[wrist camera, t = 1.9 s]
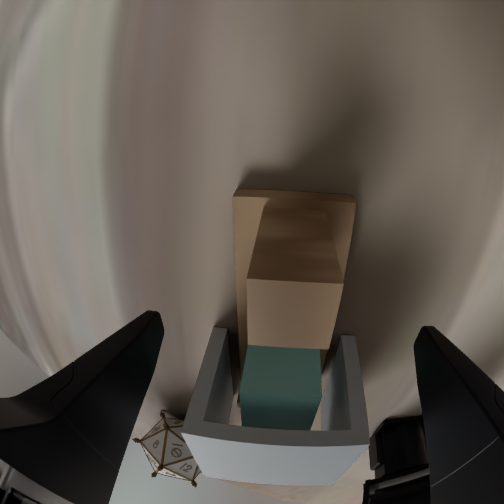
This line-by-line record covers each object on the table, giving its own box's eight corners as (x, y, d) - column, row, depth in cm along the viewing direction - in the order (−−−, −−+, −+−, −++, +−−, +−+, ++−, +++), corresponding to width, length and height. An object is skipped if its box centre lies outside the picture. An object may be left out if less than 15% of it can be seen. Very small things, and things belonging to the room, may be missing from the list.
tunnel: (354, 335, 19) (370, 444, 12) (331, 401, 24) (333, 484, 16) (213, 326, 20) (180, 432, 13) (222, 394, 25) (204, 476, 18)
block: (319, 339, 18) (321, 397, 14) (310, 379, 20) (309, 430, 17) (249, 335, 19) (239, 392, 15) (250, 375, 21) (242, 426, 17)
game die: (187, 401, 33) (141, 453, 29) (160, 384, 27) (105, 448, 22) (243, 442, 29) (194, 499, 25) (228, 438, 23) (165, 507, 18)
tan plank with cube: (351, 195, 15) (392, 272, 8) (315, 379, 22) (316, 458, 16) (236, 188, 15) (197, 261, 9) (243, 375, 23) (228, 452, 17)
